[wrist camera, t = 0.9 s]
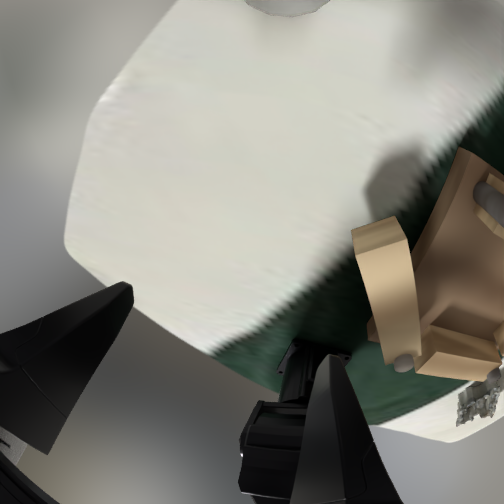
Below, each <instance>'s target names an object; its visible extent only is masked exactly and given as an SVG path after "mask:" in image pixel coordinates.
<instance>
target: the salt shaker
mask: <svg viewBox="0 0 504 504" xmlns="http://www.w3.org/2000/svg"><path fill="white" fill-rule="evenodd" d="M329 1H330V0H245V2H246V3H247V4H248V5H249V6H251V7H253V8H255V9H258V10H260V11H263V12H265V13H267V14H269V15H277V16H291V17H294V16H298V15H302V14H307V13H311V12H315V11H317V10H318V9H319V8H321V7H322V6H323V5H325V4H326V3H327V2H329Z"/></svg>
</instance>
